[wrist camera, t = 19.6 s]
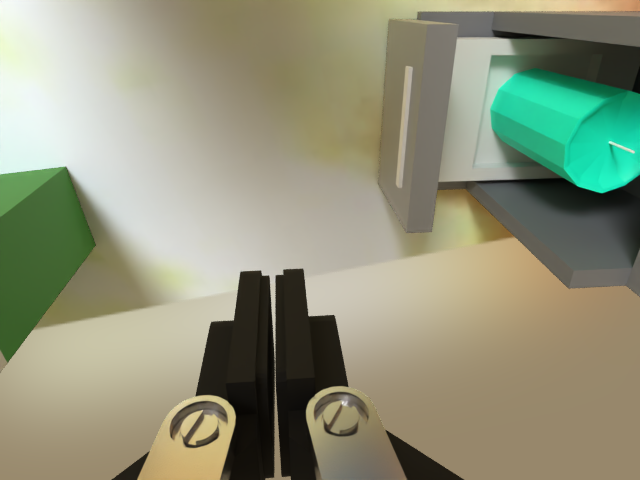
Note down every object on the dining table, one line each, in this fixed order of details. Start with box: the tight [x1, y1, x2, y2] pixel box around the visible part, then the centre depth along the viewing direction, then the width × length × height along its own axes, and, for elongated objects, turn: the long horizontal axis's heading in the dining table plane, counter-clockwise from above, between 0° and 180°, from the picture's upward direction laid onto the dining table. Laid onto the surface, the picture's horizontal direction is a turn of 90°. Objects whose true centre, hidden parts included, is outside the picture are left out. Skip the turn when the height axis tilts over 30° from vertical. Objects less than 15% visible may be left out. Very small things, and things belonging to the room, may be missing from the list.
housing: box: [417, 11, 640, 297], centre depth 30 cm, size 18×14×18 cm
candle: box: [490, 68, 640, 193], centre depth 30 cm, size 6×6×12 cm
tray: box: [378, 19, 640, 233], centre depth 33 cm, size 19×13×10 cm
